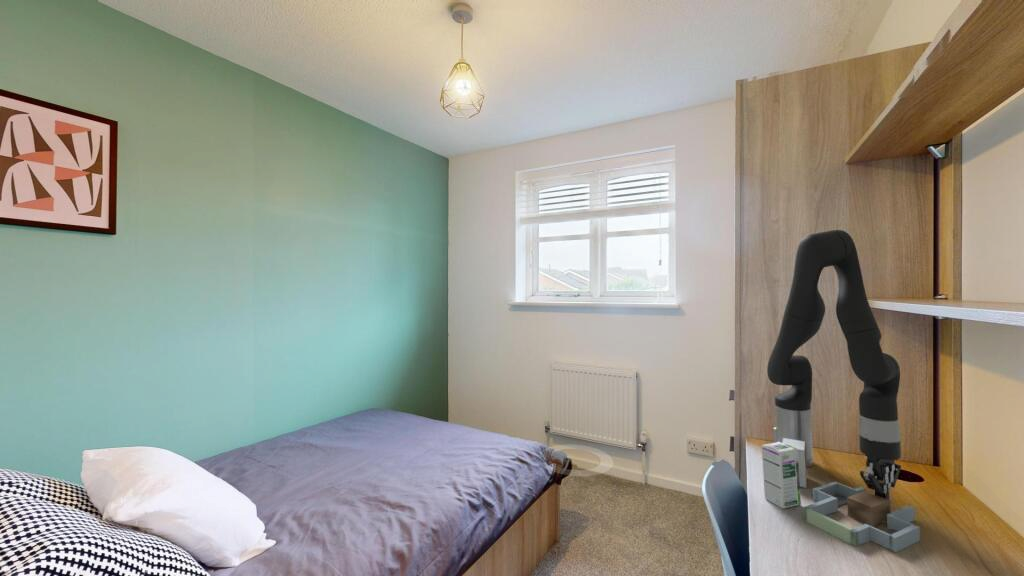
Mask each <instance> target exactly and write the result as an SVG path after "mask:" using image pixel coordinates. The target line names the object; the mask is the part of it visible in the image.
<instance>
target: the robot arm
mask: <svg viewBox="0 0 1024 576" xmlns="http://www.w3.org/2000/svg"><path fill="white" fill-rule="evenodd" d="M856 247H857V246H856V244H855V241H854V240H853V238H852V236H851V235H850V234H849V233H848V232H846V231H845V230H841V229H833V230H827V231H821V232H817V233H811V234H809V235H808V234H807V235H806V236H804V237H803V238H802V239H801V240H800V241H799V243H798V245H797V248H796V253H795V254H796V255H795V259H794V270H793V277H792V283H791V286H790V290H789V295H788V299H787V302H786V305H785V308H784V309H785V310H784V312H783V317H782V320H781V321H782V322H781V325H780V329H779V333H778V336H777V339H776V342H775V345H774V347H773V350H772V352H771V354H770V356H769V359H768V363H767V370H766V371H767V372H766V373H767V377H768V379H769V381H770V383H772V384H774V385H777V386H791V387H790V388H789V389H788V390H786V391H783V392H781V393H778V394H777V395H776V396H775V397H774V404H775V406H774V407H775V427H773V428H772V431H773V443H776V442H781V443H782V441H783V438H786V439H793V440H799V441H805V443H806V468H810V467H812V466H814V456H813V452H814V451H813V431H812V430H813V429H812V410H811V407H812V405H811V403H812V399H813V370H812V364H811V362H810V360H809V359H808V358H807V357H806V356H804V355H800V354H799V355H798V354H797V355H794V353H796V351H797V350H799V348H800V347H802V346H804V344H806V343H807V342H809V341H810V340H811V339H813V338H814V336H815V335H816V334H817V333H818V332H819V330H820V329H821V326H822V323H823V320H824V318H825V314H826V305H825V302H824V299H823V297H822V295H821V292H820V290H819V289H818V288H819V287H818V284H819V282H820V281H819V280H820V276H821V274H822V272H823V269H824V268H828V267H833V269H834V270H835V273H836V275H837V281H838V291H837V292H838V293H837V300H836V305H835V312H836V313H835V314H836V318H837V320H838V323H839V327H840V329H841V331H842V334H843V336H844V338H845V340H846V345H847V351H848V352H847V353H848V358H849V363H850V366H851V369H852V371H853V373H854V374H855V376H856V377H857V378H858V379H859V380H860V381H862V382H863V389H862V392H860V394H859V398H858V407H859V408H858V409H859V417H858V438H859V440H858V443H859V451H860V452H861V453H862V454H863V455H865V457H866V461H865V465H866V469H865V471H864V470H860V472H859V475H860V477H861V478H862V480H863V482H864V484H865V486H867V489H870V490H873V491H874V494H875V495H877V496H880V497H882V498H885V499H888V500H890V493H891V491H892V488H895V486H896V484H897V480H898V479H899V475H900V472H901V469H902V465H901V464H898V463H896V462H895V461H897V460H900V459H901V458H902V450H901V449H902V448H901V428H900V423H899V411H898V399H897V398H898V393H899V389H900V383H901V382H900V381H901V371H900V365H899V362H898V361H897V360H896V358H894V357H893V356H892V355H891V354H889V353H885V352H883V351H882V347H881V344H880V342H881V339H882V333H881V330H880V328H879V324H878V323H877V320H876V318H875V316H874V313H873V311H872V308H871V306H870V303H869V301H868V297H867V293H866V292H867V291H866V290H865V285H864V283H865V282H864V278H863V274H862V270H861V264H860V260H859V255H858V251H857V250H858V249H857V248H856Z"/></svg>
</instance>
